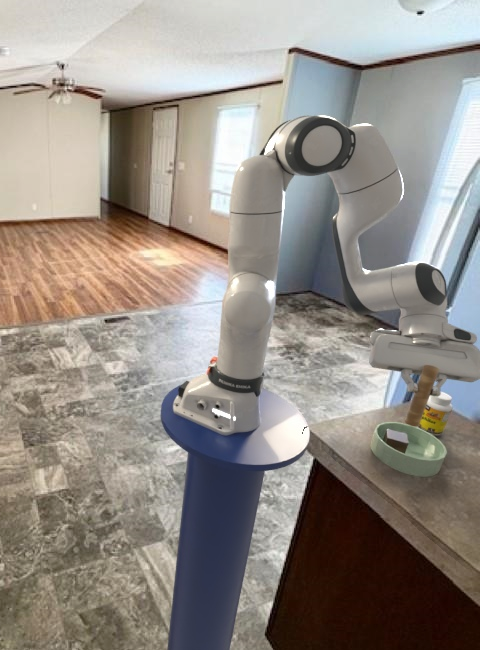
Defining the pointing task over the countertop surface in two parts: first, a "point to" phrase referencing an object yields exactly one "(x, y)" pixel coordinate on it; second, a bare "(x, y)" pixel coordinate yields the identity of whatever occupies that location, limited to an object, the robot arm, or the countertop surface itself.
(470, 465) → the countertop surface
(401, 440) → the block
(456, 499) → the countertop surface
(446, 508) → the countertop surface
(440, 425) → the supplement bottle
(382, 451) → the bowl
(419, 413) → the wooden cylinder
